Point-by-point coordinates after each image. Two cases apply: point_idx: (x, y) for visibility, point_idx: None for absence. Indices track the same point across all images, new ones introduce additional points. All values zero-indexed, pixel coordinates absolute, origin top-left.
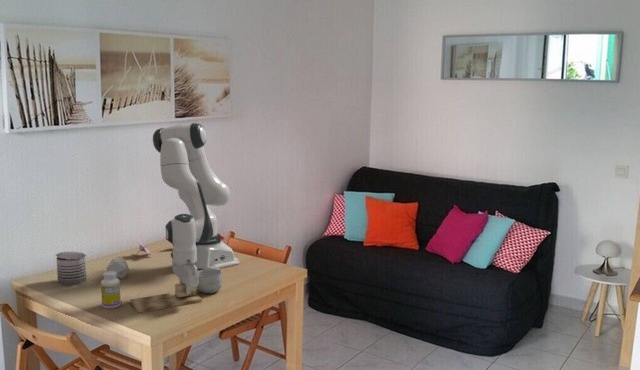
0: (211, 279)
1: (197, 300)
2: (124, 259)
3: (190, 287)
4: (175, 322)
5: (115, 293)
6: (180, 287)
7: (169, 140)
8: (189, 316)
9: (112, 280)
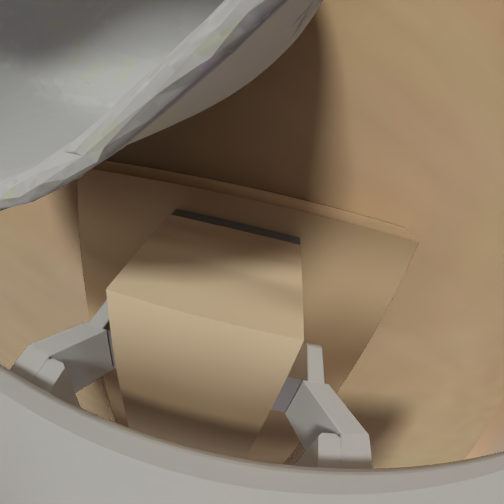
0: None
1: (395, 278)
2: None
3: (344, 423)
4: (462, 437)
5: None
6: (244, 453)
7: None
8: (485, 393)
9: None
